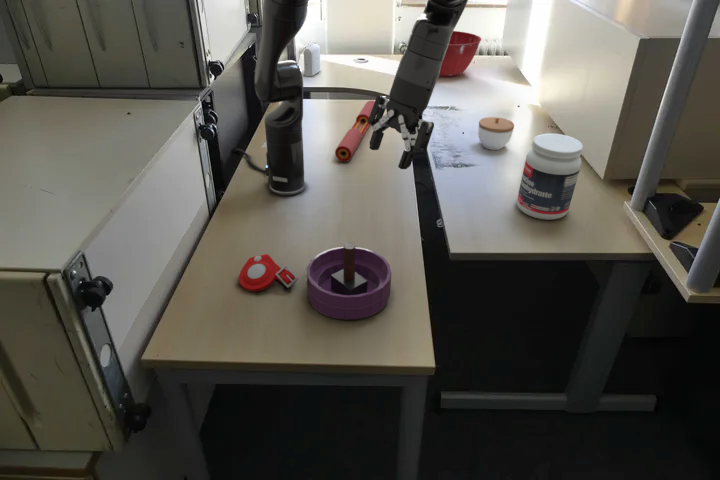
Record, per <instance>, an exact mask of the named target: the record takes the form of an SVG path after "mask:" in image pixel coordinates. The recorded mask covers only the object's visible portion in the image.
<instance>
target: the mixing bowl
mask: <svg viewBox="0 0 720 480" xmlns="http://www.w3.org/2000/svg"><path fill="white" fill-rule="evenodd" d="M481 41H482V38H481V36H479V35H477V34H474V33H470V32H465V31H457V30H453V32H452V35H451V38H450V42H449V45H448V47H447V50H446V53H445V56H444V58H443V60H442V64H441V69H440V73H439V76H438V77H444V78H446V77H448V78H449V77H450V78H451V77H456V76H459V75H461V74H462V73H464V72H465V71H466V70H467V69H468V68H469V66H470V64H471V63H472V61H473V59H474V57H475V56H476V54H477V51H478V48H479V46H480V43H481Z"/></svg>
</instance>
